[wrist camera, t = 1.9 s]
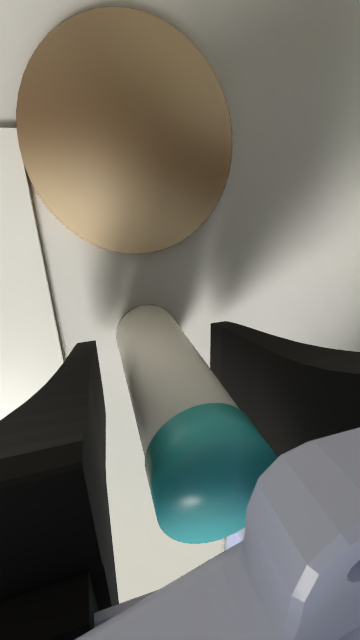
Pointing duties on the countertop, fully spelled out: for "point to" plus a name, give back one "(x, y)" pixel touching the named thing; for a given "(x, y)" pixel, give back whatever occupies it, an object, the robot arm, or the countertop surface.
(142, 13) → the coaster
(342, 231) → the countertop surface
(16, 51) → the countertop surface
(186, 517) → the marker
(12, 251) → the paper
